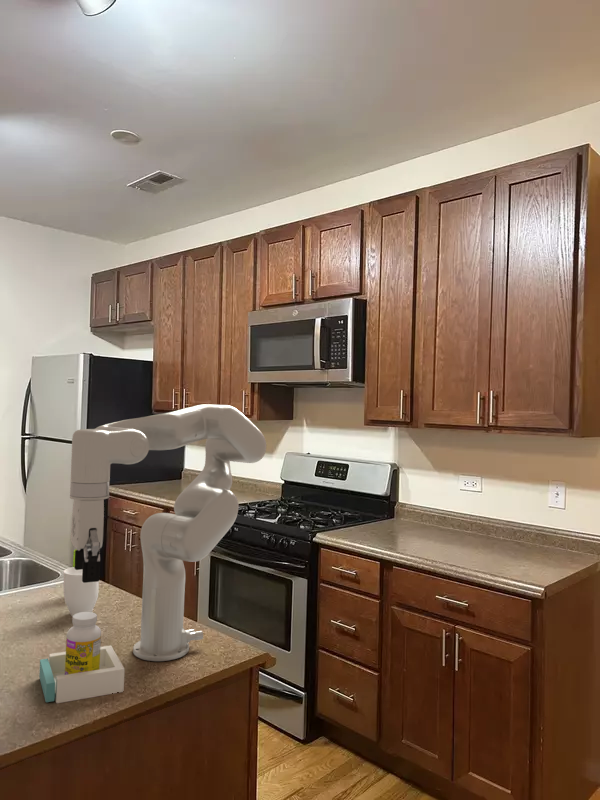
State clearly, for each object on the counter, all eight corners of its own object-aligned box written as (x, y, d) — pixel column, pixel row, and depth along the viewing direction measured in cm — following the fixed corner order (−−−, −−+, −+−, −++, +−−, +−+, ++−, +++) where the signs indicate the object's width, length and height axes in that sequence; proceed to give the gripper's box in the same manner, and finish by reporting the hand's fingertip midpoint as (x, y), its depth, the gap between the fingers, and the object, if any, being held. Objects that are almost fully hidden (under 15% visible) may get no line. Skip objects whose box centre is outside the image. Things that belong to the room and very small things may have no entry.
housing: (110, 666, 136) (111, 645, 136) (123, 691, 124) (124, 668, 124) (48, 675, 130) (49, 653, 130) (56, 703, 119) (57, 679, 119)
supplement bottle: (57, 683, 124) (60, 618, 125) (76, 670, 131) (79, 608, 131) (87, 688, 123) (90, 622, 123) (105, 674, 129) (108, 612, 129)
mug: (99, 618, 164) (99, 573, 164) (62, 622, 161) (63, 575, 161) (97, 604, 175) (97, 561, 175) (63, 607, 172) (63, 564, 172)
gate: (47, 675, 129) (47, 658, 130) (54, 700, 119) (55, 682, 119) (39, 676, 129) (40, 659, 129) (45, 702, 118) (46, 683, 118)
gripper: (64, 485, 133) (61, 566, 133) (77, 497, 118) (73, 589, 118) (101, 484, 137) (97, 563, 137) (117, 496, 121) (114, 585, 121)
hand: (86, 575), depth 127 cm, fingers open, 9 cm apart
